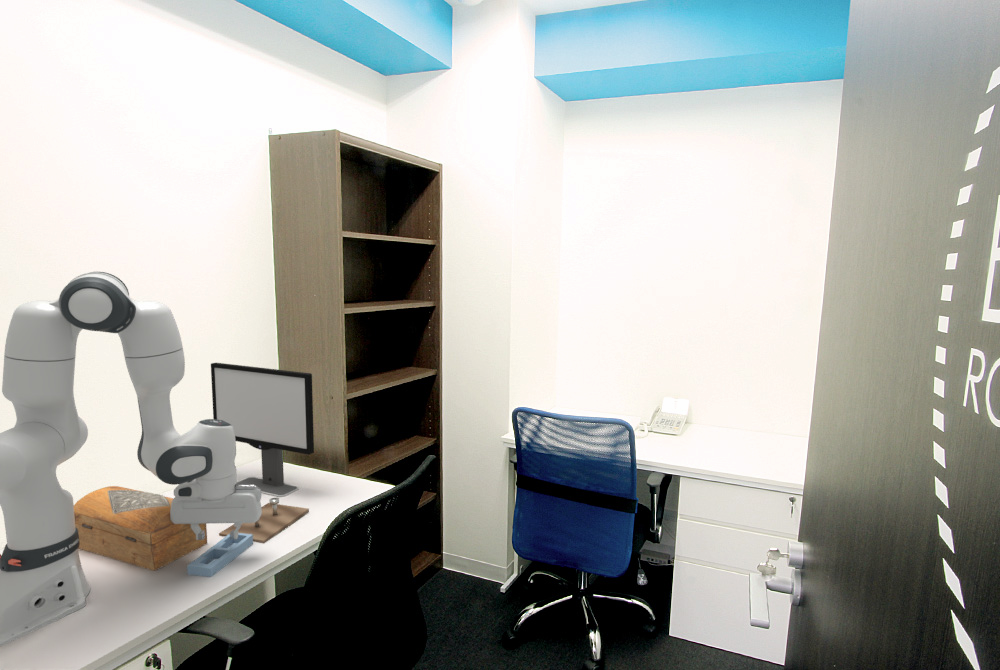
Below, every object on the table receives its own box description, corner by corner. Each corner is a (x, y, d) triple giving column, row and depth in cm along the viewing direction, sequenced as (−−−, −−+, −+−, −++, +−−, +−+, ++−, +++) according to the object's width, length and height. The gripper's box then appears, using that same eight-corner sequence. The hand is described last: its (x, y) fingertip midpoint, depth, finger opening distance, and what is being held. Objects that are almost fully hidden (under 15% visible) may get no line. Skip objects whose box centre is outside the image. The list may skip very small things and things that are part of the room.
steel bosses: (257, 529, 150) (257, 513, 149) (249, 527, 150) (249, 511, 150) (281, 513, 159) (281, 498, 159) (273, 512, 160) (273, 497, 159)
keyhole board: (263, 544, 143) (263, 540, 143) (219, 536, 147) (219, 533, 147) (308, 511, 163) (308, 508, 163) (268, 505, 166) (268, 502, 166)
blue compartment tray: (253, 545, 143) (252, 534, 143) (211, 580, 127) (210, 568, 127) (232, 542, 144) (231, 531, 144) (187, 577, 128) (187, 565, 127)
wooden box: (212, 544, 143) (209, 494, 142) (152, 577, 128) (148, 521, 126) (134, 523, 154) (130, 476, 153) (69, 551, 139) (65, 498, 137)
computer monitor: (210, 481, 184) (204, 364, 179) (231, 473, 192) (226, 360, 187) (306, 503, 168) (302, 375, 163) (324, 493, 176) (321, 371, 171)
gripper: (265, 479, 138) (265, 531, 139) (178, 480, 135) (179, 533, 137) (257, 489, 131) (257, 544, 133) (166, 490, 129) (167, 545, 130)
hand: (217, 538), depth 135 cm, fingers open, 6 cm apart
